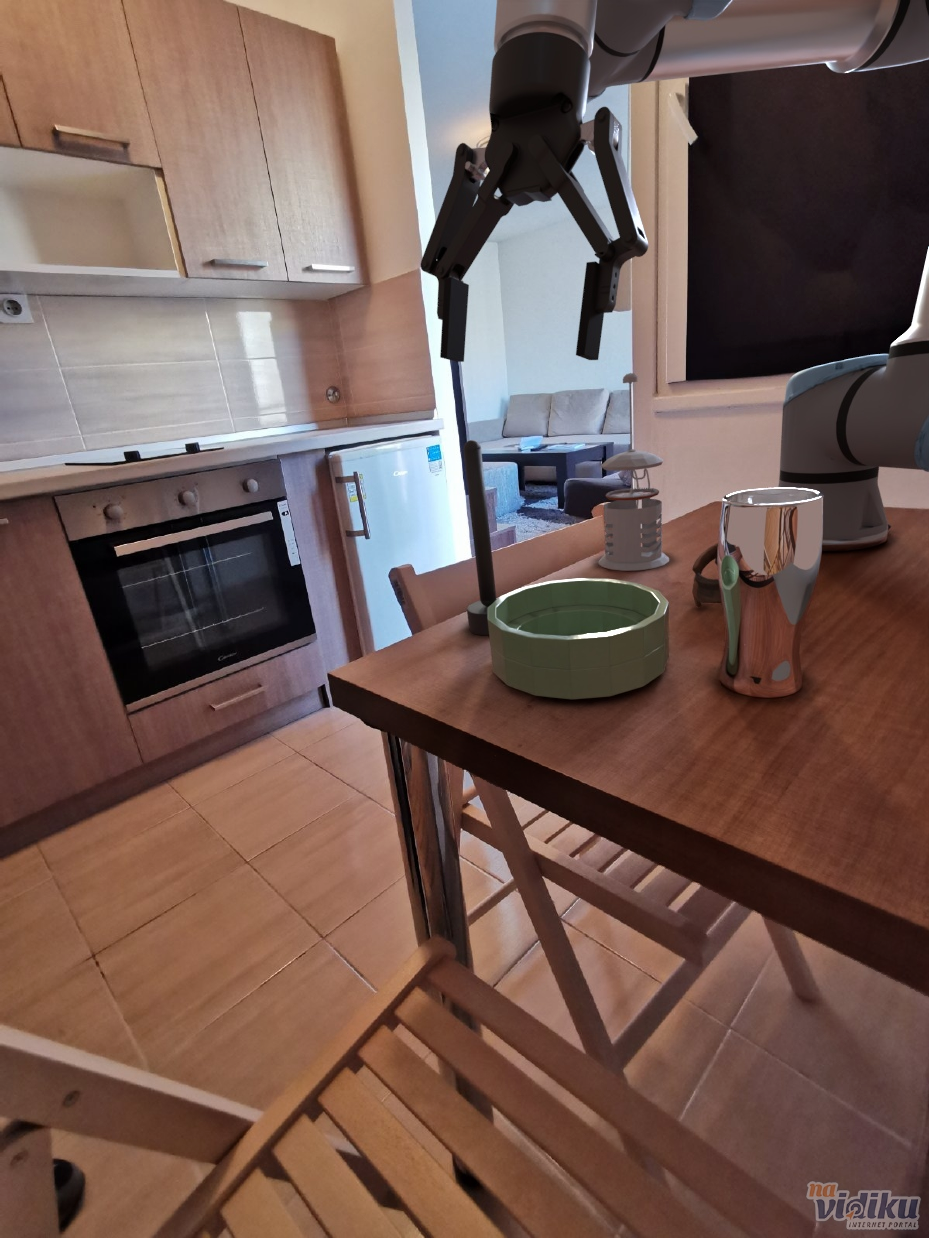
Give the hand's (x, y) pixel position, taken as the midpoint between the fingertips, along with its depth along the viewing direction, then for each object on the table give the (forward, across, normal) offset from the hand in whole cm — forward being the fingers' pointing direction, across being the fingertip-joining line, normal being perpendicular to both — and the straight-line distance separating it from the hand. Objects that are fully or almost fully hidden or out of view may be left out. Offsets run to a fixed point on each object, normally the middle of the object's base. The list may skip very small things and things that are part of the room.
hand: (514, 359), depth 51 cm
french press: (+22, +2, +36) cm, 42 cm away
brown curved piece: (+22, +18, +22) cm, 36 cm away
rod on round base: (+27, -4, +6) cm, 28 cm away
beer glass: (+24, +24, +3) cm, 34 cm away
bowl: (+26, +9, +1) cm, 28 cm away
